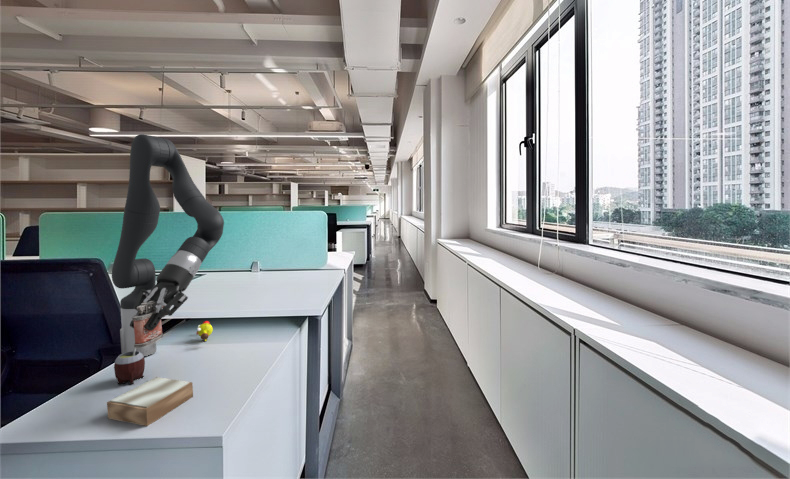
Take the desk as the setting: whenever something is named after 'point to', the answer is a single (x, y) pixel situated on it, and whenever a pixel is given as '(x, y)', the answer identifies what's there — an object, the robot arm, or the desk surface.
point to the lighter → (140, 319)
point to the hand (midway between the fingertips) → (140, 328)
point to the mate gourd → (129, 367)
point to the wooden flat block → (149, 401)
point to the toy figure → (204, 330)
